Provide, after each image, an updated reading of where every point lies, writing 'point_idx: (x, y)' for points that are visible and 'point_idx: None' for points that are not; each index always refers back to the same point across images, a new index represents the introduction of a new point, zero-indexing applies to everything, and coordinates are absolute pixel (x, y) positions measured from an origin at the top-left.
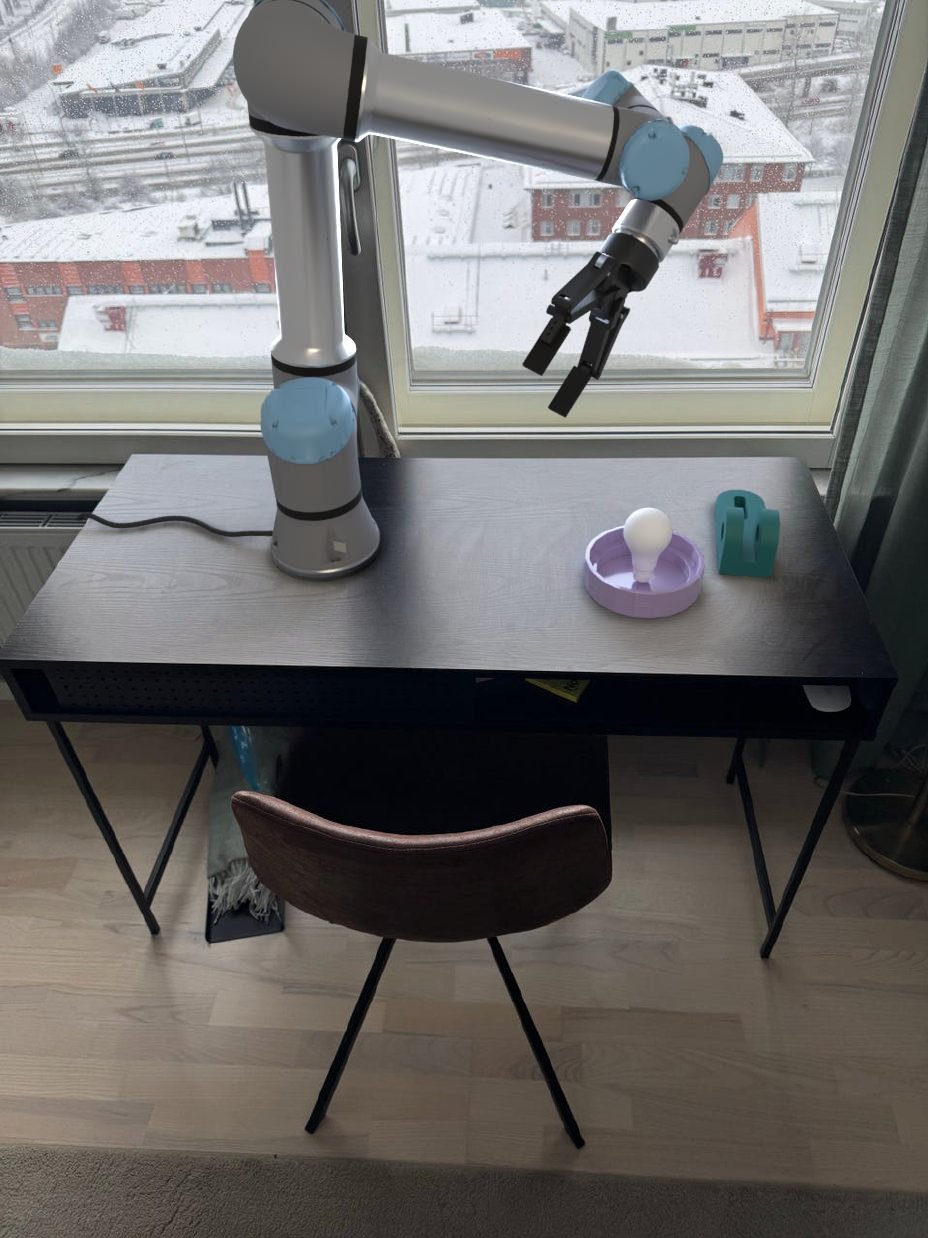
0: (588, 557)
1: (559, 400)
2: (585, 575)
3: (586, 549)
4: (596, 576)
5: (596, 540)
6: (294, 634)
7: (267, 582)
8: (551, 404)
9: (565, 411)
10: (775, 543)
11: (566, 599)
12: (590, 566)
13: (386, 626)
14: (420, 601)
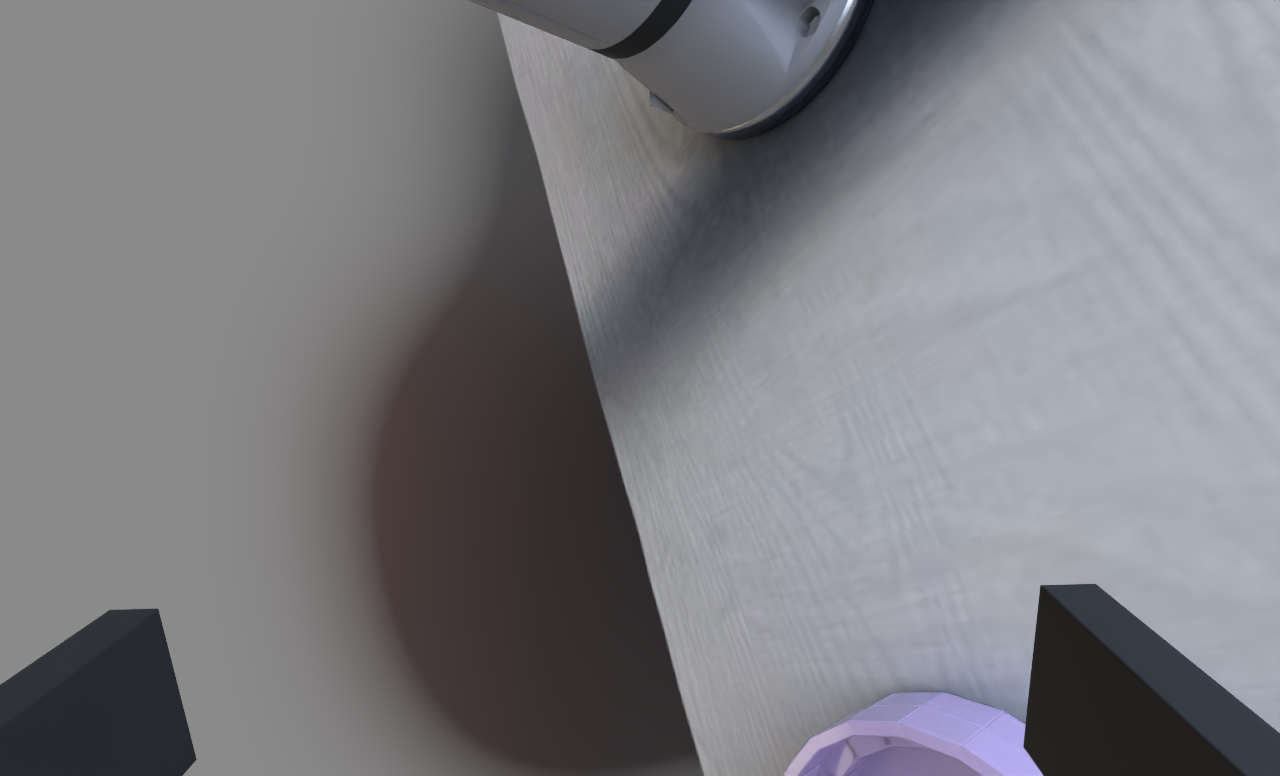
0: (860, 731)
1: (1106, 719)
2: (865, 708)
3: (896, 723)
4: (795, 756)
5: (961, 761)
6: (587, 194)
7: None
8: (1059, 625)
9: (1042, 766)
10: None
11: (837, 645)
12: (825, 738)
13: (643, 311)
14: (709, 323)
